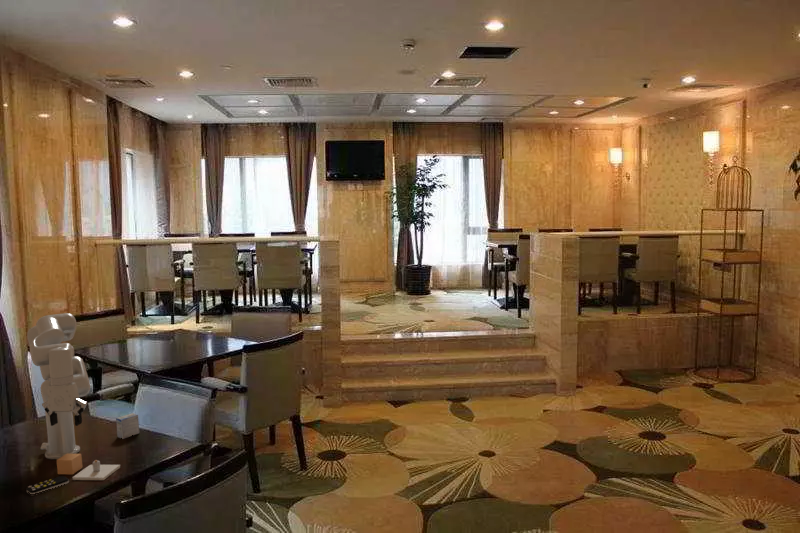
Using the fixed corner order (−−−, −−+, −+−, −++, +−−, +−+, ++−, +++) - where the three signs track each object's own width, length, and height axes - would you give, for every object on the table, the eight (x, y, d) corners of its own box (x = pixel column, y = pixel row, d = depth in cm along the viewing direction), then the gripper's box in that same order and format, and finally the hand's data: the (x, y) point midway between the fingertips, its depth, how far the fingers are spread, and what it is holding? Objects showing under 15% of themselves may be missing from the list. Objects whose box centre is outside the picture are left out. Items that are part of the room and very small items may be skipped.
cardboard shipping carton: (57, 474, 231) (56, 460, 230) (67, 467, 237) (66, 453, 236) (72, 474, 230) (71, 460, 230) (82, 467, 236) (81, 453, 236)
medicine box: (134, 431, 273) (132, 412, 273) (139, 433, 271) (138, 414, 270) (117, 437, 267) (115, 418, 266) (122, 439, 265) (121, 419, 264)
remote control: (70, 483, 223) (70, 478, 223) (31, 497, 214) (31, 491, 214) (63, 479, 227) (63, 474, 227) (25, 492, 218) (24, 486, 218)
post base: (72, 479, 226) (71, 466, 225) (90, 467, 237) (89, 454, 236) (103, 480, 224) (102, 466, 224) (120, 467, 235) (119, 454, 235)
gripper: (33, 383, 227) (38, 428, 229) (77, 383, 226) (82, 428, 227) (47, 377, 235) (51, 421, 236) (90, 377, 233) (93, 421, 235)
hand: (66, 424), depth 232 cm, fingers open, 9 cm apart
